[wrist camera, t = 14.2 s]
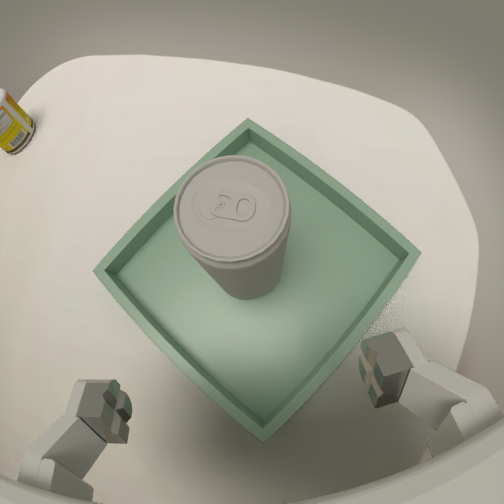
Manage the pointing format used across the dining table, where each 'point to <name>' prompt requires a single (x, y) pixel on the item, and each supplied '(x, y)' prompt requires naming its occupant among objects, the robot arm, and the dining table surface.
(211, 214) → the beverage can
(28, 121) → the supplement bottle
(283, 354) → the green tray
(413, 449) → the dining table surface
